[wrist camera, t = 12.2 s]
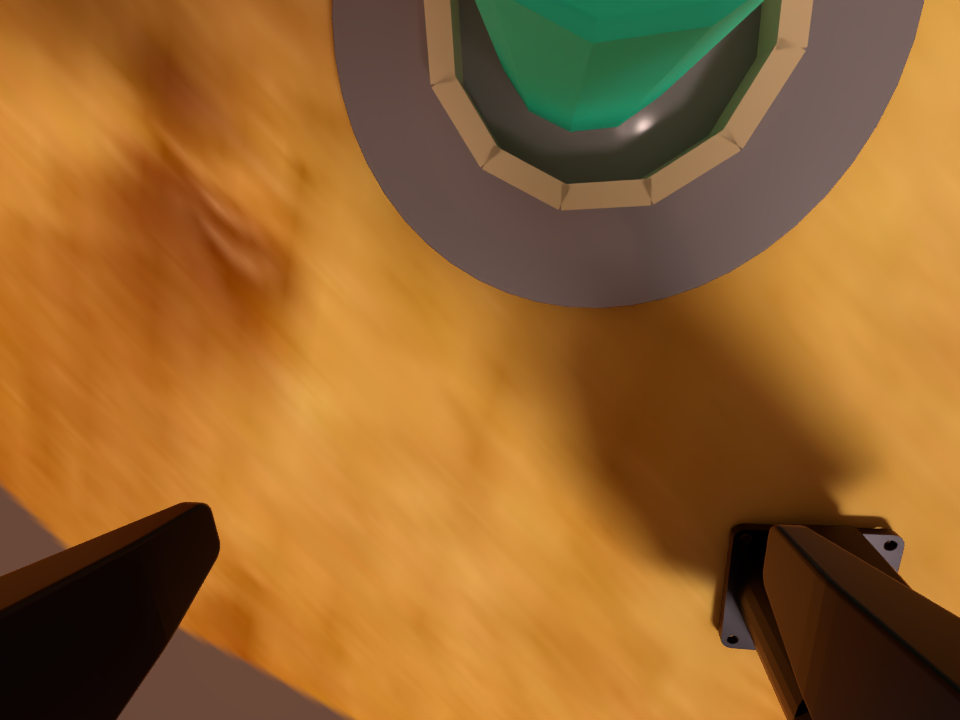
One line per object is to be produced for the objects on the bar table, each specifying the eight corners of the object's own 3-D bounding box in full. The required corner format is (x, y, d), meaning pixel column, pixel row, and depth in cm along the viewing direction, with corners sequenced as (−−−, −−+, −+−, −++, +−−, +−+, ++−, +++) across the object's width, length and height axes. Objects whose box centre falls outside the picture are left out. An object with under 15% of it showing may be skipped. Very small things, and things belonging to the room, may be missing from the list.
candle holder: (851, 295, 18) (896, 310, 16) (377, 308, 21) (354, 323, 18) (978, -419, 12) (1077, -562, 10) (305, -269, 15) (259, -354, 13)
